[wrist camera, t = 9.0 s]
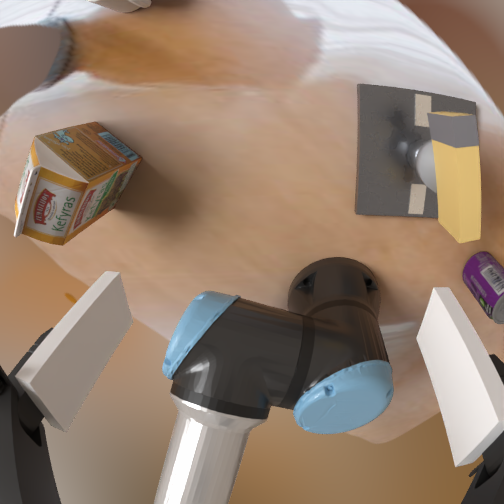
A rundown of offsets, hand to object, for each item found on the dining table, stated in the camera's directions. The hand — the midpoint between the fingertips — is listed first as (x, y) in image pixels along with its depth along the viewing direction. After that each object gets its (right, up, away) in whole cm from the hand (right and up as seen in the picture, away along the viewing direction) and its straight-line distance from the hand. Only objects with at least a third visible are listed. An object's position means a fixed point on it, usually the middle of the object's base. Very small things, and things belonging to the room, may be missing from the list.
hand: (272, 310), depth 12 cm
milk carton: (-25, +16, +33) cm, 44 cm away
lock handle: (+21, +13, +19) cm, 31 cm away
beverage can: (+38, 0, +32) cm, 50 cm away
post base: (+22, +16, +25) cm, 37 cm away
